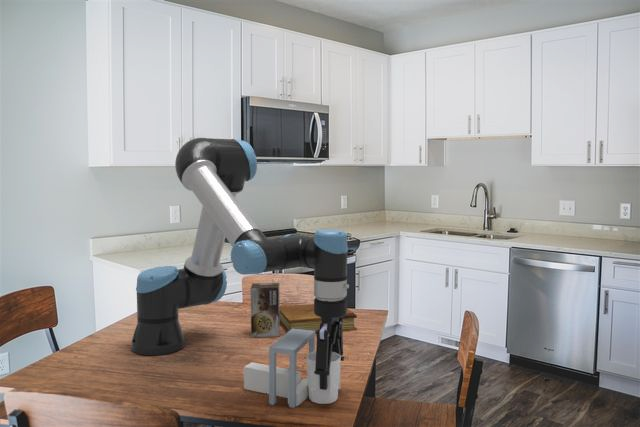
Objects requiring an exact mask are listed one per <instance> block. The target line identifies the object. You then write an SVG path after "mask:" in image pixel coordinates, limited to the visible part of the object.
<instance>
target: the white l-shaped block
mask: <svg viewBox="0 0 640 427" xmlns="http://www.w3.org/2000/svg"><path fill="white" fill-rule="evenodd" d="M243 389H244V390H249V391H252V392H253V391H254V392H257V393H263V394H266V393H267V395H269V364H268V365H267V364H262V363H258V362H252V361H251V362H250V363H248V364H246V365H245V366H243ZM276 397H281V398H285V399H287V405H289V369H288V368H285V367H280V366H276ZM308 398H309V388H308V377H305V378H303V379H301V371H300V370H297V371H296V406H295V407H298V406H300V405H301V404H302V403H303V402H304V401H305V400H306V399H308Z"/></svg>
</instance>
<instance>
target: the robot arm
mask: <svg viewBox="0 0 640 427" xmlns="http://www.w3.org/2000/svg"><path fill="white" fill-rule="evenodd" d="M257 159H258V158H257V155H256V153H255V150H254V149H253V147H252V145H251V144H250V143H248V142H247V141H245V140H241V139H240V140H239V139H236V138H209V137H197V138H193V139H191V140H189V141H187V142H185V143H184V144H183V145H182V146H181V148H180V149H179V150H178V152H177V154H176V158H175V166H174V168H175V172H176V176H177V178H178V180H179V182H180V183H181V184H182V186H183V187H184V188H185V189H186V190H188V191H191V192H192V193H193V194H194V196H195V197H196V199H197V200H198V201H199V203H201V205H202V207H201V208H202V209H201V212H200V217H199V220H198V221H199V222H198V225H197V230H196V234H195V235H196V236H195V240H194V244H193V249H192V251H191V256H189V257H187V258H186V259H185V261H184V265H183V268H182V269H179V268H178V267H177V266H174V265H165V266H164V265H163V266H156V267H151V268H147V269H145V270H143V271H141V272H140V273H139V274H138V276H137V278H136V287H135V291H136V311H137V312H136V313H137V314H136V315H137V318H136V319H137V321H136V326H135V330H134V333H133V336H132V339H131V351H132V352H133V353H135V354H137V355H143V356H160V355H161V356H162V355H167V354H172V353H175V352H179V351H181V350H182V349H183V348H185V344H186V342H185V340H186V339H185V335H184V333H183V329H182V327H181V323H180V322H179V310H180V309H185V308H191V307H197V306H202V305H203V306H204V305H205V306H206V305H210V304H212V303H216V302H219V301H220V300H221V299H222V298H223V297H224V296H225V293H226V290H227V286H228V285H227V284H228V281H227V280H226V279H227V274H226V271H225V269H224V268H223V264H222V263H221V256H222V253H223V249H224V244H225V240H227V242H228V243H229V244H230V245H231V251H230V261H231V262H232V268H233V269H234V271H235V272H237V273H238V274H239V275H247V276H248V275H258V274H259V275H260V274H262V273H269V272H274V271H282V270H283V271H284V270H288V269H295V268H305V269H306V268H307V269H311V270H314V272H313V273H314V275H313V295H314V297H315V298H314V299H313V304H314V313H315V315H317V316H320V317H321V318H322V321H321V323H320V328H319V329H317V331H316V334H315V336H316V346H315V351H316V367H315V371H314V373H315V374H318V402H323V403H329V404H331V403H330V402H331V374H330V363H331V354H332V352H336V353H338V354H339V355H340V356H341V361H342V362H344V361H345V356H343V355H344V338H343V337H344V336H343V332H344V331H342V322H343V316H345V315H346V313H347V309H348V308H347V307H348V299H346V297H347V296H348V295H347V294H348V291H347V289H349V288H350V285H349V284H348V252H349V248H348V235H347V233H346V232H345V231H344V230H342V229H330V228H329V229H318V230H316V231H315V232H314V236H309V235H303V234H300V233H295V234H293V233H289V234H286V235H284V236H281V237H271V238H268V237H266V235H265V234H264V232H263V231H262V230H261V229H260V228H259V227H258V226H257V223H255V221H254V220H253V219H252V218H251V216H250V215H249V214H248V212H247V211H246V210H245V209H244V207H243V206H242V204H240V202H239V201H238V199H237V198H236V196H237V195H238V194H240V193H242V192H243V191H244V187H245V183H246V182H250V181H251V180H252V179H254V178H255V176H256V174H257V171H258V170H257V169H258V160H257ZM341 361H340V371H341V369H342V368H341ZM338 390H341V377H340V378H339V387H338Z"/></svg>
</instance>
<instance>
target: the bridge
mask: <svg viewBox="0 0 640 427" xmlns="http://www.w3.org/2000/svg"><path fill="white" fill-rule="evenodd" d="M307 344H308V354H309V353H311V352H314V351H316V334H315V331H312V330H303V329H293V328H292V329H291V330H290V331H289V332H287V333H286V332H285V334H284V335H283V336H281V337H280V338H279V339H278V340H276V341H275V342H274V343H273V344H271V345H270V346H269V348H268V349H269V350H268V356H269V357H268V359H269V361H268V362H269V363H268V365H269V394H268V396H269V398H268V404H269V405H272V406H274V405H276V403H277V396H276V367H277V354H278V355H279V354H280V355H287V356H289V357H288V358H289V361H288V362H289V404H288V407H289V408H293V409H294V408H296V407H297V406H296V371H298V370H297V365H298V364H297V360H298V359H297V356H298V352H300V351H301V350H302V349H303V348H304V347H305V346H306V345H307Z"/></svg>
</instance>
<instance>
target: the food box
mask: <svg viewBox="0 0 640 427" xmlns="http://www.w3.org/2000/svg"><path fill="white" fill-rule="evenodd" d="M249 290H250V337H251V338H267V337H270V338H274V337H280V335H281V333H280V332H281V325H280V306H281V305H280V298H281V297H280V283H279V282H277V283H276V282H275V283H274V282H260V283H259V282H258V283H257V282H255V283H253V282H252V284H251V287H250V289H249Z"/></svg>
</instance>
